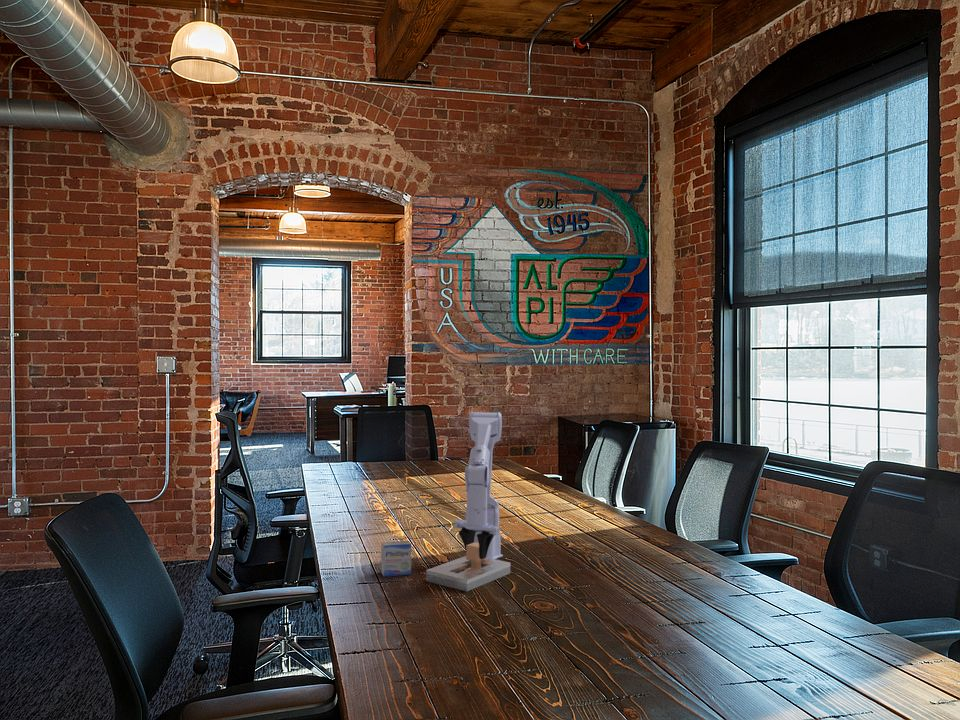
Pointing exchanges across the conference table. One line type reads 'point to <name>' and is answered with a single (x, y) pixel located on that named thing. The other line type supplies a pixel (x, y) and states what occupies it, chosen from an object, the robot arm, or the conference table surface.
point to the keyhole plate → (467, 573)
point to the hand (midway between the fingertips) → (476, 556)
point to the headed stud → (473, 555)
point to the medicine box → (396, 558)
